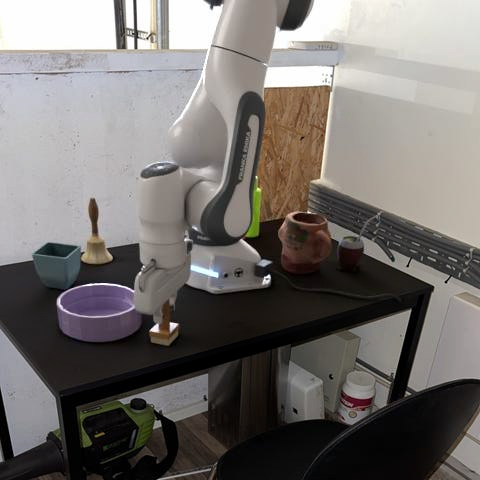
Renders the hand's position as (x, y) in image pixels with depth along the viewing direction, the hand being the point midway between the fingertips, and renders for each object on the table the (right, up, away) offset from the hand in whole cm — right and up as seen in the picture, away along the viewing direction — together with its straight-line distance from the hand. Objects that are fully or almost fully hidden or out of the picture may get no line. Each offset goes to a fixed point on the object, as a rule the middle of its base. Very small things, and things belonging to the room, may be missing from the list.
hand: (164, 316), depth 133 cm
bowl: (-15, -1, +7) cm, 16 cm away
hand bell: (-23, +22, +39) cm, 50 cm away
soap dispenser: (+18, +35, +61) cm, 73 cm away
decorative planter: (+33, +19, +39) cm, 54 cm away
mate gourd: (+46, +20, +41) cm, 65 cm away
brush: (0, -4, +3) cm, 5 cm away
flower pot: (-28, +12, +24) cm, 38 cm away
